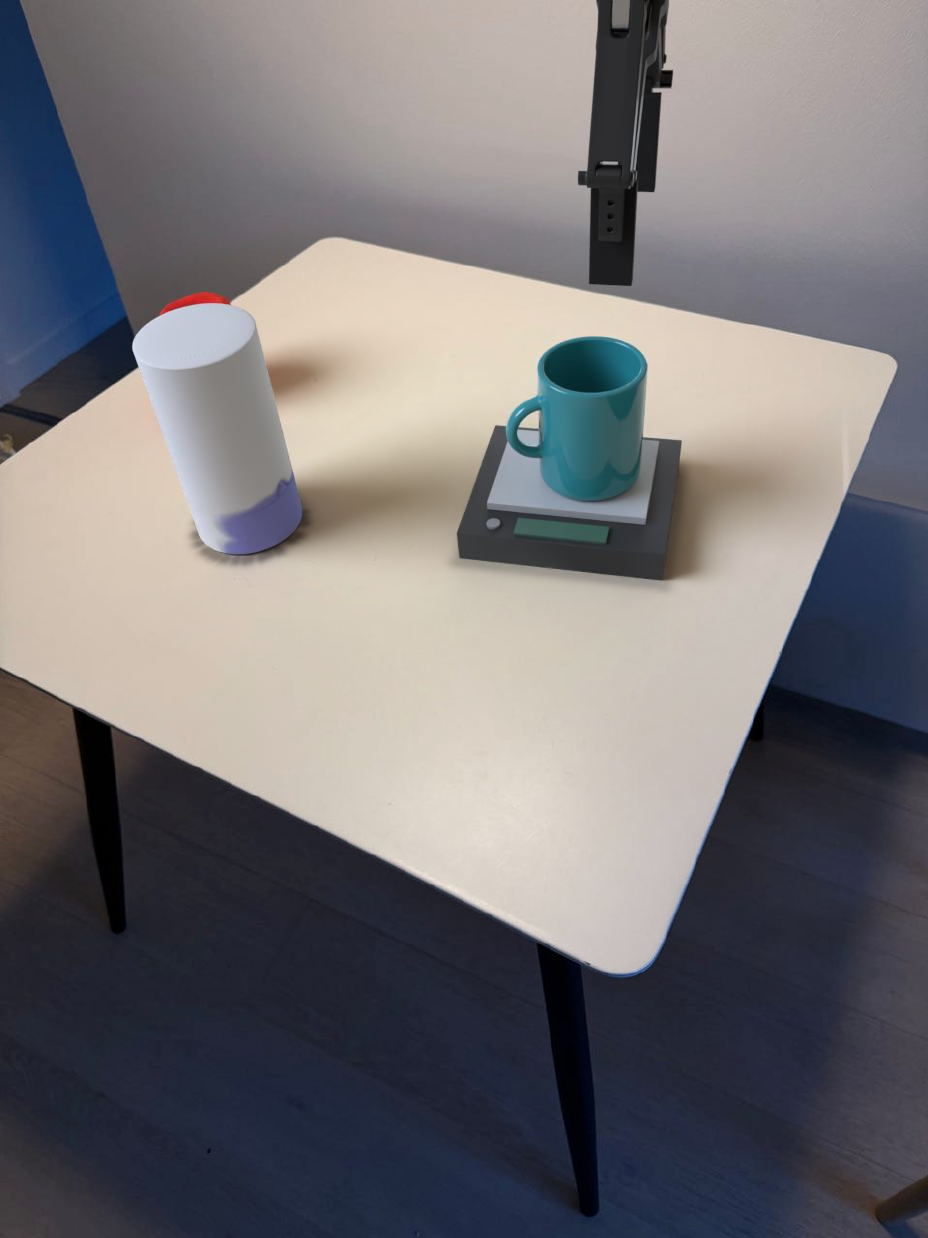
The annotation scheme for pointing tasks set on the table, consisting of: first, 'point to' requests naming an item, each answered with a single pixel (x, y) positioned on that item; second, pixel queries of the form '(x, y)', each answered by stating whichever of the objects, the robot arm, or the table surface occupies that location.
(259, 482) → the container
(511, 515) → the scale
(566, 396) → the cup
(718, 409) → the table surface
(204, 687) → the table surface
